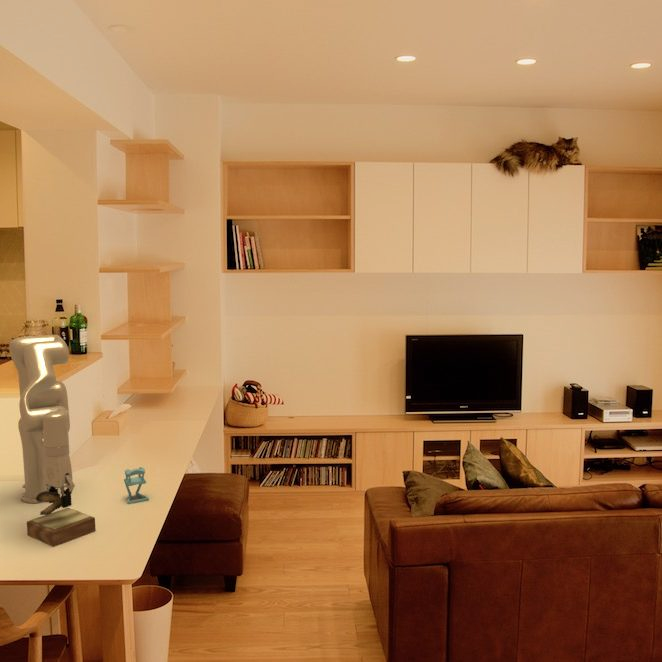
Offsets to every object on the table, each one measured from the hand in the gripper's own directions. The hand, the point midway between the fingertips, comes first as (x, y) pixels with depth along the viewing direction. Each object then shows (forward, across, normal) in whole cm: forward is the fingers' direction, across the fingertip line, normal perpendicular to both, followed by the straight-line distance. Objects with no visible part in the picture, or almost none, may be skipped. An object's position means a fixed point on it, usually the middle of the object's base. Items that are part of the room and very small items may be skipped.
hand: (60, 503), depth 238 cm
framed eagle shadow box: (+10, 0, 0) cm, 10 cm away
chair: (+10, -6, +34) cm, 36 cm away
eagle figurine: (+2, 0, -2) cm, 3 cm away
